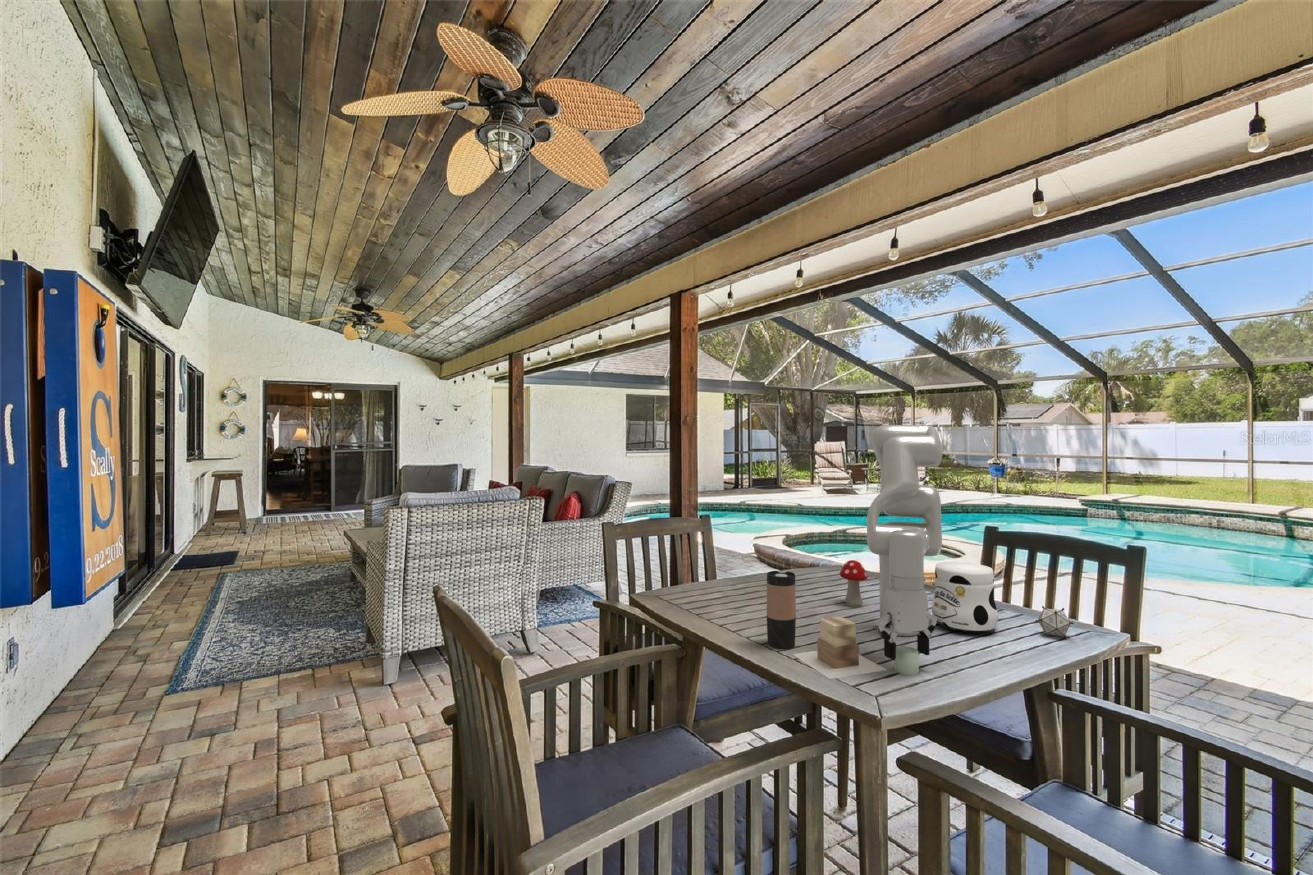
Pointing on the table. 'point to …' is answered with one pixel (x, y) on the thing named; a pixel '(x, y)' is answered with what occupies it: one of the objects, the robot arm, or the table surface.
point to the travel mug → (781, 610)
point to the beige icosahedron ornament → (1054, 622)
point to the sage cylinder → (907, 660)
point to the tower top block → (838, 631)
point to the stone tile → (832, 673)
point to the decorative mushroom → (853, 582)
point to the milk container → (964, 597)
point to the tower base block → (838, 654)
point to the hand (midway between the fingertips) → (906, 655)
